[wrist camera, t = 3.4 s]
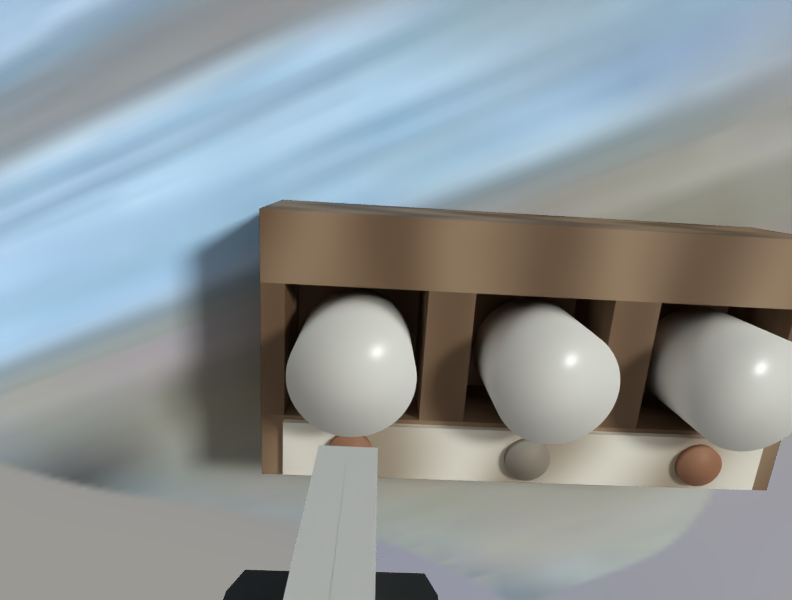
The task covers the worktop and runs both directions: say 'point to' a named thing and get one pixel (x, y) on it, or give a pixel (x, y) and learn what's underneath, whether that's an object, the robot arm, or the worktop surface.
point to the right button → (723, 377)
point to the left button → (352, 364)
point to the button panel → (487, 290)
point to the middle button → (545, 371)
